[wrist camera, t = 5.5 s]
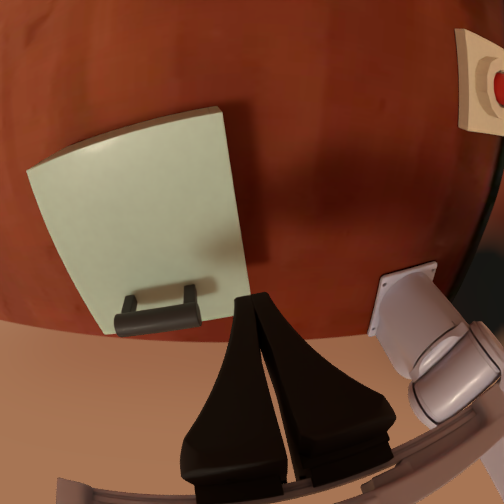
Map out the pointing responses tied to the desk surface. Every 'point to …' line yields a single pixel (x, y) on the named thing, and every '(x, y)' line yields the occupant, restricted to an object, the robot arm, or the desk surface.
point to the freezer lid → (148, 225)
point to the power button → (499, 88)
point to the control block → (479, 83)
